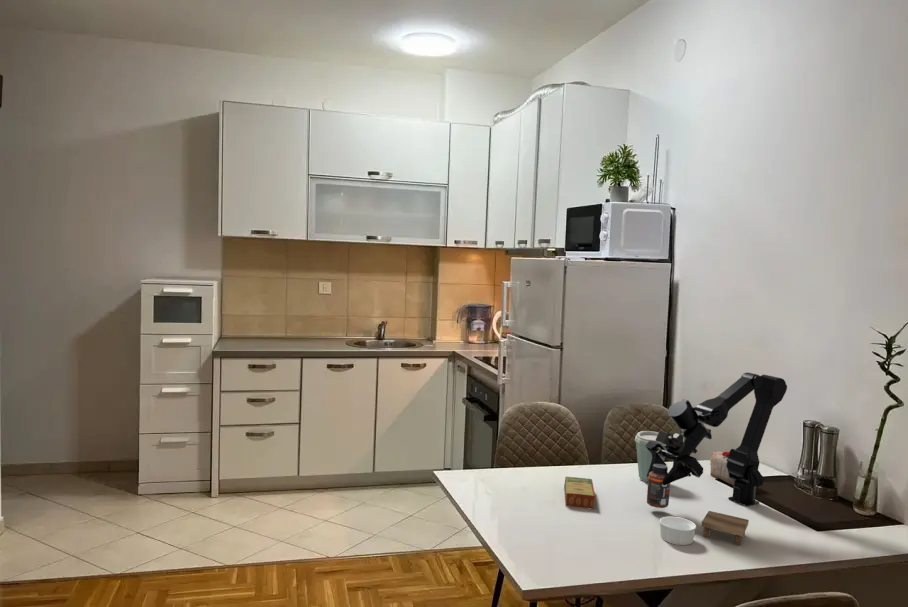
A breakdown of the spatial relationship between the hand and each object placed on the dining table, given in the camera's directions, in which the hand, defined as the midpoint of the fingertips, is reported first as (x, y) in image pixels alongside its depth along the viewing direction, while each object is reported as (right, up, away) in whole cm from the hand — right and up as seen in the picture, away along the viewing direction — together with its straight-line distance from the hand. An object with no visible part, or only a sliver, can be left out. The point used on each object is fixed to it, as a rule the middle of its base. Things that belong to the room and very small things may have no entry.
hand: (655, 480), depth 191 cm
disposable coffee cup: (+7, -8, +30) cm, 32 cm away
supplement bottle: (+1, -7, +1) cm, 7 cm away
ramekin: (0, -11, -18) cm, 21 cm away
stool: (+14, -11, -14) cm, 22 cm away
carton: (-20, -8, +9) cm, 23 cm away
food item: (+35, -9, +35) cm, 50 cm away
